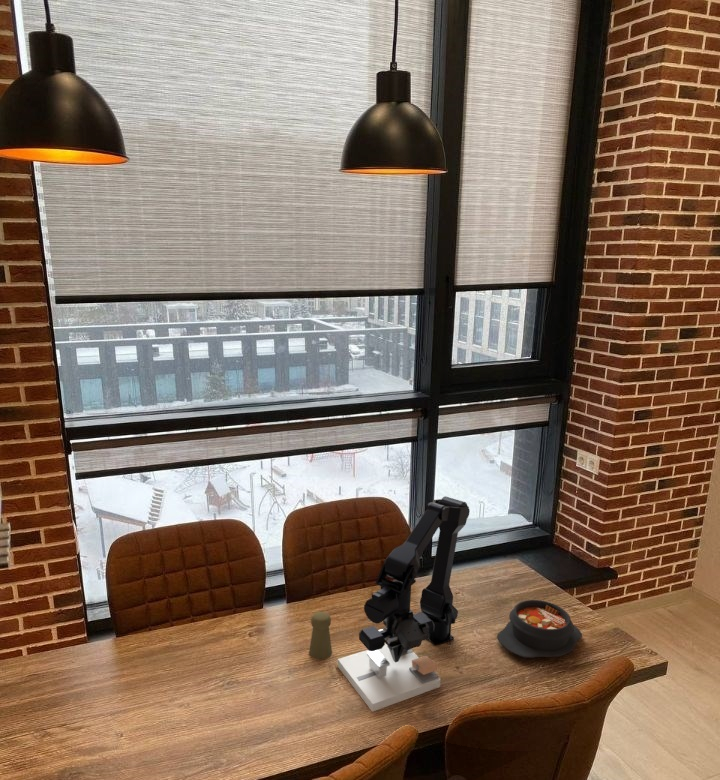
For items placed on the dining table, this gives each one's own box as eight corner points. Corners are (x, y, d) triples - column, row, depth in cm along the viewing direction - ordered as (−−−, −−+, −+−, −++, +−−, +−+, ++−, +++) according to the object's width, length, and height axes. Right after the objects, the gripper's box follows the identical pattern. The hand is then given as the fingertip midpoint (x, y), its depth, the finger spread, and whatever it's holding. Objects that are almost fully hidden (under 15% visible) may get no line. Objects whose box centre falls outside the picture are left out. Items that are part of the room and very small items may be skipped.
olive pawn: (328, 661, 159) (329, 622, 156) (306, 657, 160) (306, 619, 157) (334, 647, 164) (335, 609, 162) (312, 643, 166) (313, 606, 163)
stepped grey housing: (376, 662, 155) (377, 649, 154) (389, 676, 150) (389, 663, 149) (366, 665, 153) (366, 652, 153) (378, 679, 148) (379, 666, 148)
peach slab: (426, 661, 154) (425, 655, 154) (437, 669, 150) (437, 663, 150) (411, 666, 152) (411, 660, 152) (422, 674, 148) (422, 668, 148)
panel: (400, 645, 166) (401, 637, 165) (440, 686, 150) (440, 677, 150) (337, 666, 157) (337, 657, 156) (372, 711, 141) (372, 701, 141)
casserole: (547, 613, 184) (549, 587, 182) (597, 647, 168) (601, 620, 166) (481, 635, 172) (483, 608, 170) (529, 675, 156) (532, 645, 154)
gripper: (382, 632, 139) (379, 692, 142) (449, 612, 148) (445, 669, 151) (358, 607, 149) (356, 664, 152) (423, 589, 158) (419, 644, 161)
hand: (395, 661), depth 154 cm, fingers closed
